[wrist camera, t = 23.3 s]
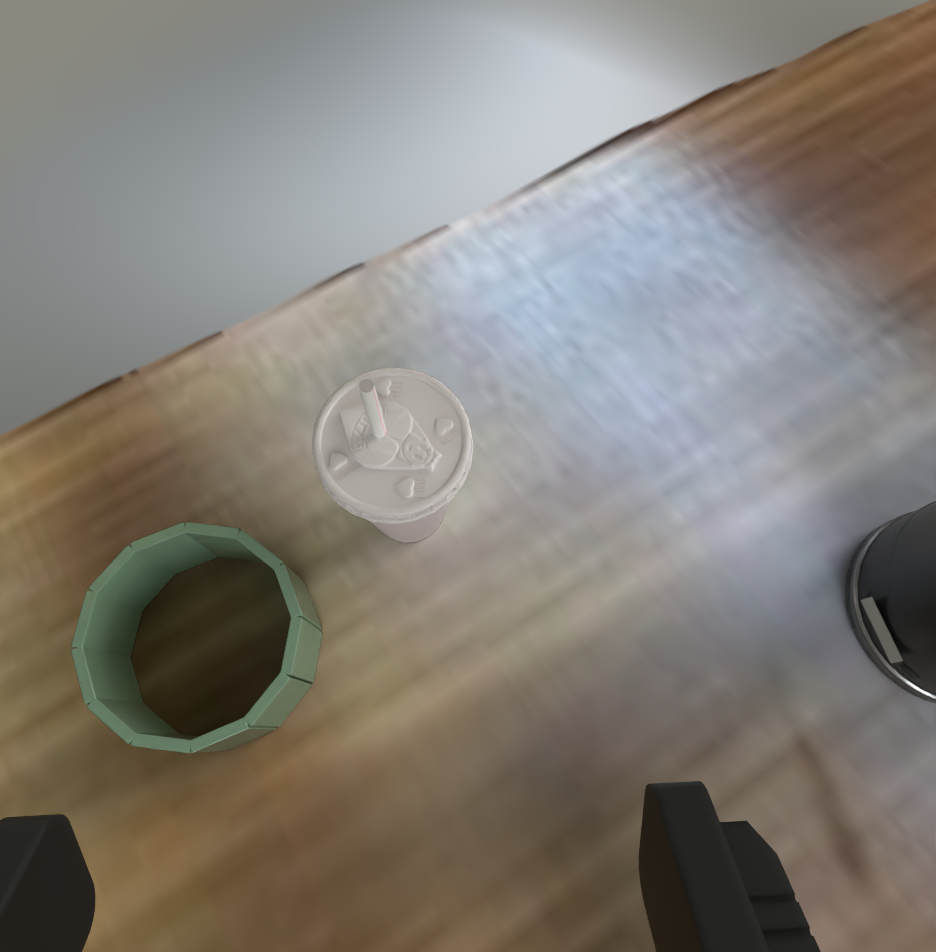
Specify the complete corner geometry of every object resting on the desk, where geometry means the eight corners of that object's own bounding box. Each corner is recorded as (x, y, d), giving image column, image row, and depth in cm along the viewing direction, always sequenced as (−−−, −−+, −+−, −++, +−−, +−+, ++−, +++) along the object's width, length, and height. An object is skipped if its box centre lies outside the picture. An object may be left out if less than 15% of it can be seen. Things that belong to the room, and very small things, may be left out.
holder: (283, 521, 39) (258, 492, 34) (347, 698, 36) (330, 693, 32) (102, 593, 38) (50, 573, 33) (154, 782, 35) (106, 789, 31)
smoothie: (386, 428, 41) (348, 281, 28) (493, 483, 40) (507, 358, 27) (322, 532, 39) (248, 428, 26) (433, 592, 38) (416, 516, 25)
